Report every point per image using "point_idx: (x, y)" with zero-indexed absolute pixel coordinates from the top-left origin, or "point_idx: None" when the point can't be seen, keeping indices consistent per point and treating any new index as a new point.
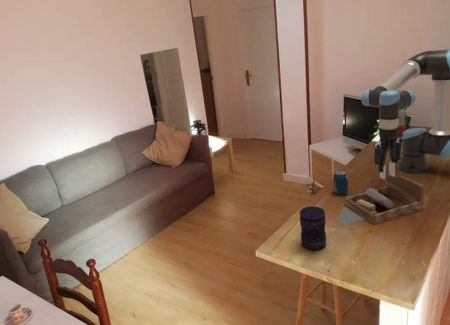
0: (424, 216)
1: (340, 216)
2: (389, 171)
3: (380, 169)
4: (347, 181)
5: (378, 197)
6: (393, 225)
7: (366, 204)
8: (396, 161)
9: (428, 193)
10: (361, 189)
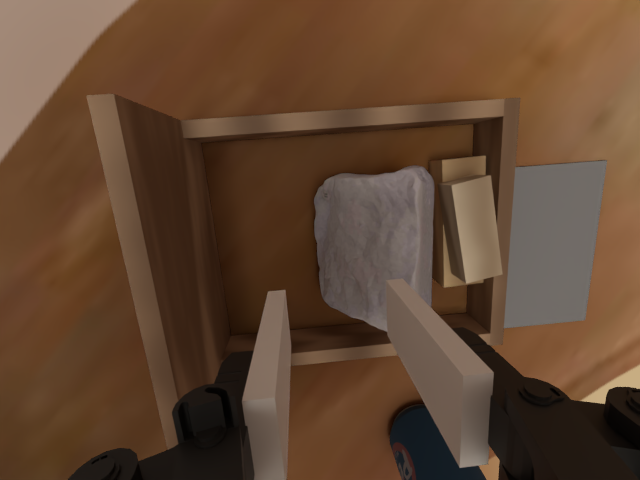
0: (220, 61)
1: (562, 240)
2: (289, 363)
3: (494, 358)
4: (423, 473)
5: (428, 210)
6: (415, 56)
7: (483, 216)
8: (211, 418)
9: (38, 263)
10: (311, 425)
